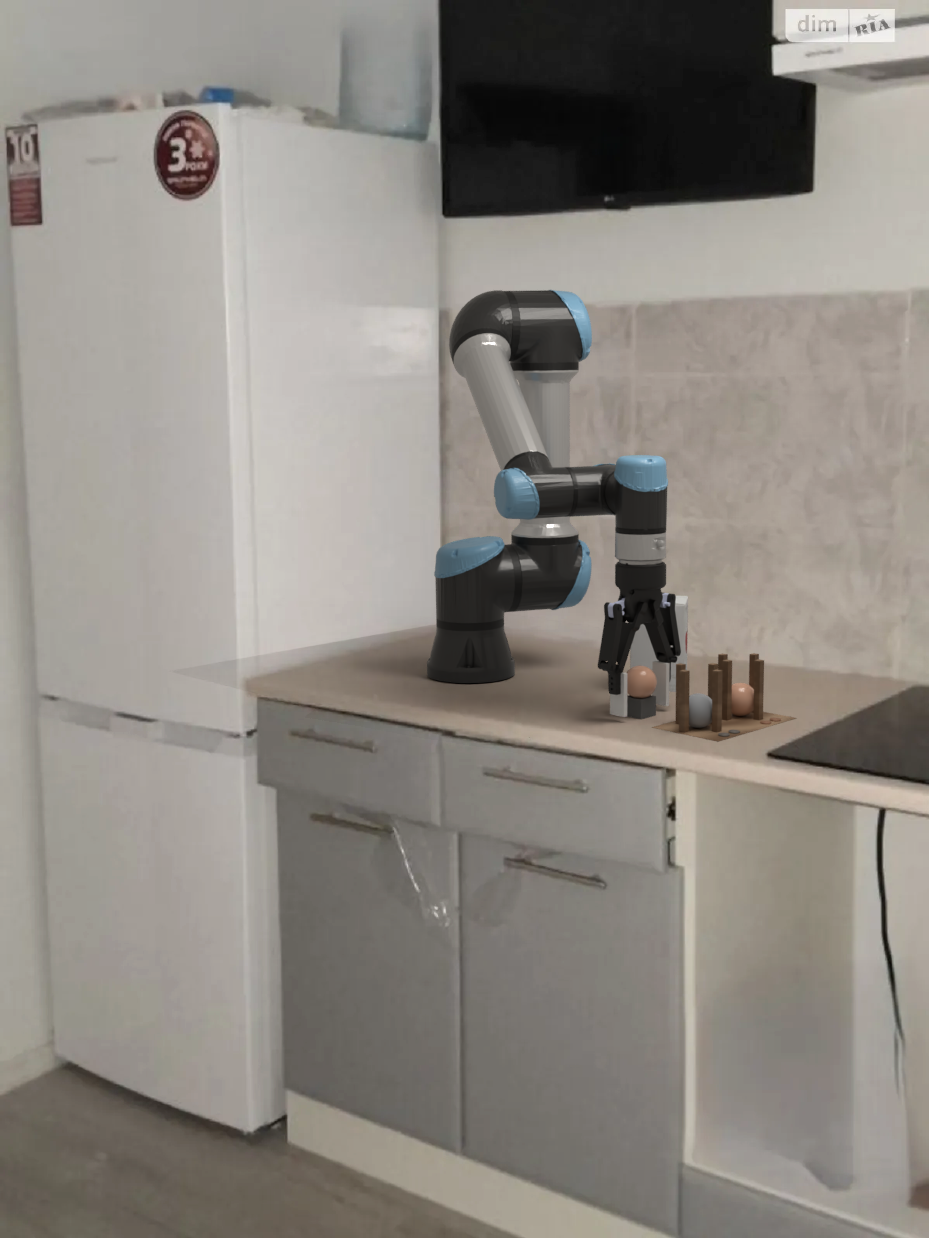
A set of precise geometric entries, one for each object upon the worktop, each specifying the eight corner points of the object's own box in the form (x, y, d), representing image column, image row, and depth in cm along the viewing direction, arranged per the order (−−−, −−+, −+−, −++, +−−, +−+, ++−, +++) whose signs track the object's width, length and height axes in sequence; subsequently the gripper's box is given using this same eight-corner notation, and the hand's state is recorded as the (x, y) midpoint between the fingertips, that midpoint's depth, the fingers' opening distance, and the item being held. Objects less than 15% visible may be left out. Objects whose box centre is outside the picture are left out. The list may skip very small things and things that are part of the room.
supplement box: (685, 695, 244) (686, 603, 241) (629, 694, 246) (629, 602, 243) (688, 683, 253) (689, 594, 250) (634, 682, 254) (634, 593, 252)
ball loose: (616, 698, 228) (616, 665, 227) (637, 693, 232) (638, 661, 231) (642, 703, 225) (642, 670, 224) (663, 698, 228) (663, 665, 227)
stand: (623, 719, 229) (623, 696, 228) (638, 715, 231) (638, 692, 230) (641, 723, 226) (641, 700, 226) (655, 719, 229) (656, 696, 228)
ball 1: (673, 727, 221) (674, 693, 220) (695, 721, 224) (695, 688, 223) (701, 733, 217) (701, 699, 216) (722, 727, 220) (723, 693, 220)
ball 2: (716, 715, 227) (716, 683, 227) (736, 710, 231) (736, 677, 230) (743, 721, 224) (744, 688, 223) (763, 715, 227) (764, 682, 226)
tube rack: (651, 731, 221) (651, 667, 220) (731, 709, 234) (731, 648, 232) (718, 745, 213) (719, 679, 211) (796, 722, 225) (798, 659, 224)
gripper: (611, 571, 214) (610, 726, 218) (706, 555, 229) (704, 701, 233) (571, 566, 220) (572, 718, 224) (667, 551, 235) (666, 694, 238)
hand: (639, 709), depth 228 cm, fingers open, 9 cm apart
